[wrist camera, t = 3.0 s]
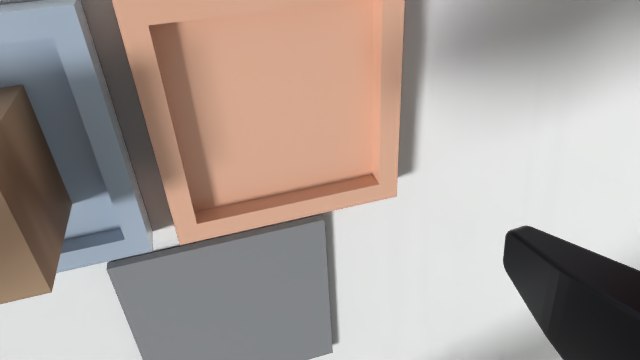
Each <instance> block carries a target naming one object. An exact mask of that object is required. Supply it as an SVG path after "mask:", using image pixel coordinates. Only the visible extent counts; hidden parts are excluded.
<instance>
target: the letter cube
mask: <svg viewBox="0 0 640 360" xmlns="http://www.w3.org/2000/svg"><path fill="white" fill-rule="evenodd" d="M71 208H72V202H71V199H70V197H69V195H68V192H67V190H66V187H65V185H64V183H63V180H62V178H61V175H60V173H59V170H58V168H57V166H56V163H55V161H54V158H53V156H52V153H51V151H50V149H49V146H48V144H47V141H46V139H45V137H44V134H43V132H42V129H41V127H40V124H39V122H38V120H37V117H36V115H35V112H34V110H33V107H32V105H31V103H30V100H29V98H28V95H27V93H26V91H25V88H24V86H23V85H16V86H10V87H3V88H0V304H3V303H8V302H12V301H16V300H20V299H25V298H29V297H33V296H38V295H42V294H46V293H51V292H52V288H53V284H54V279H55V275H56V271H57V267H58V263H59V258H60V254H61V250H62V246H63V241H64V237H65V233H66V229H67V224H68V220H69V216H70V212H71Z"/></svg>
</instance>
